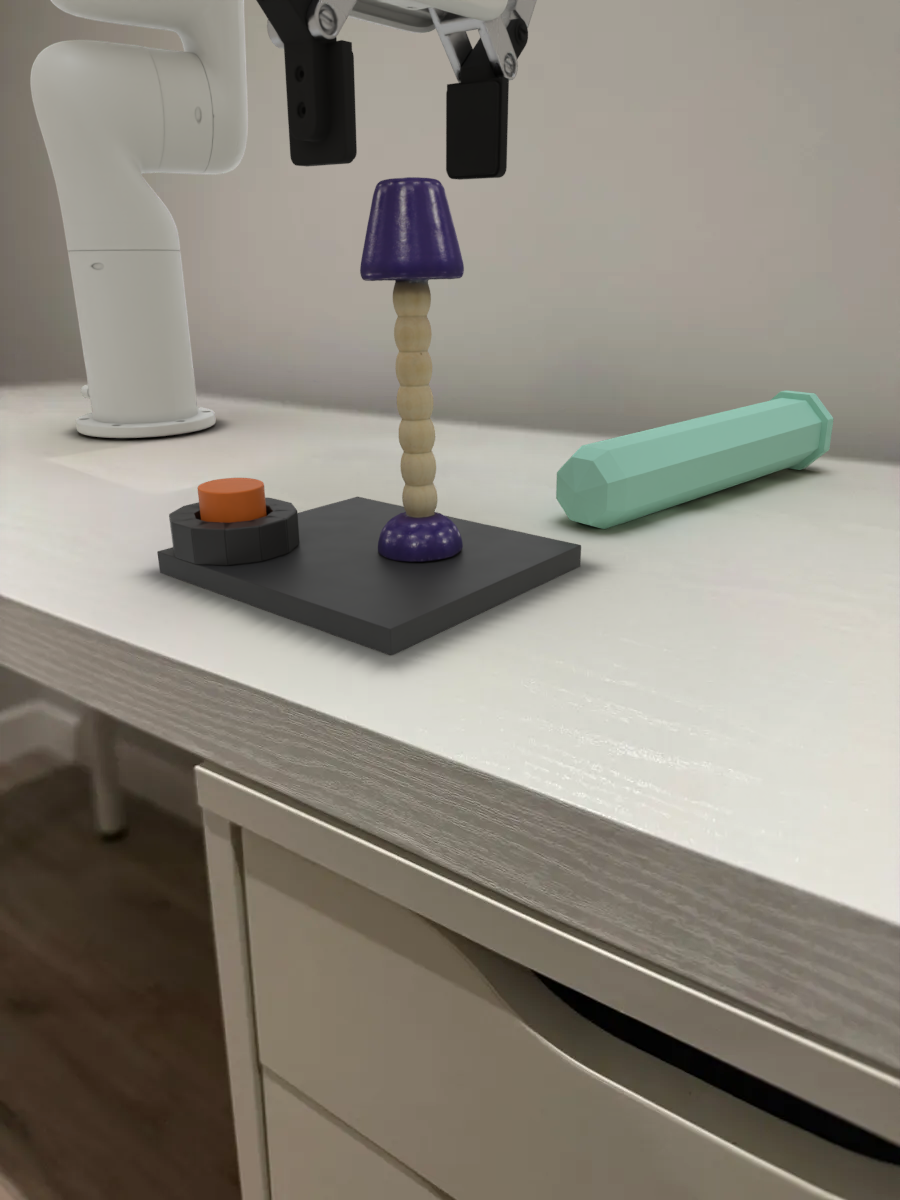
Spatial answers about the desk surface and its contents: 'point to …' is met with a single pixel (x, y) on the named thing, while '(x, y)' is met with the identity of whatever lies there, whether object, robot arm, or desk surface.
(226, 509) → the button
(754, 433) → the container
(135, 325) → the robot arm
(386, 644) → the scale
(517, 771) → the desk surface
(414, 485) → the toy lamp
